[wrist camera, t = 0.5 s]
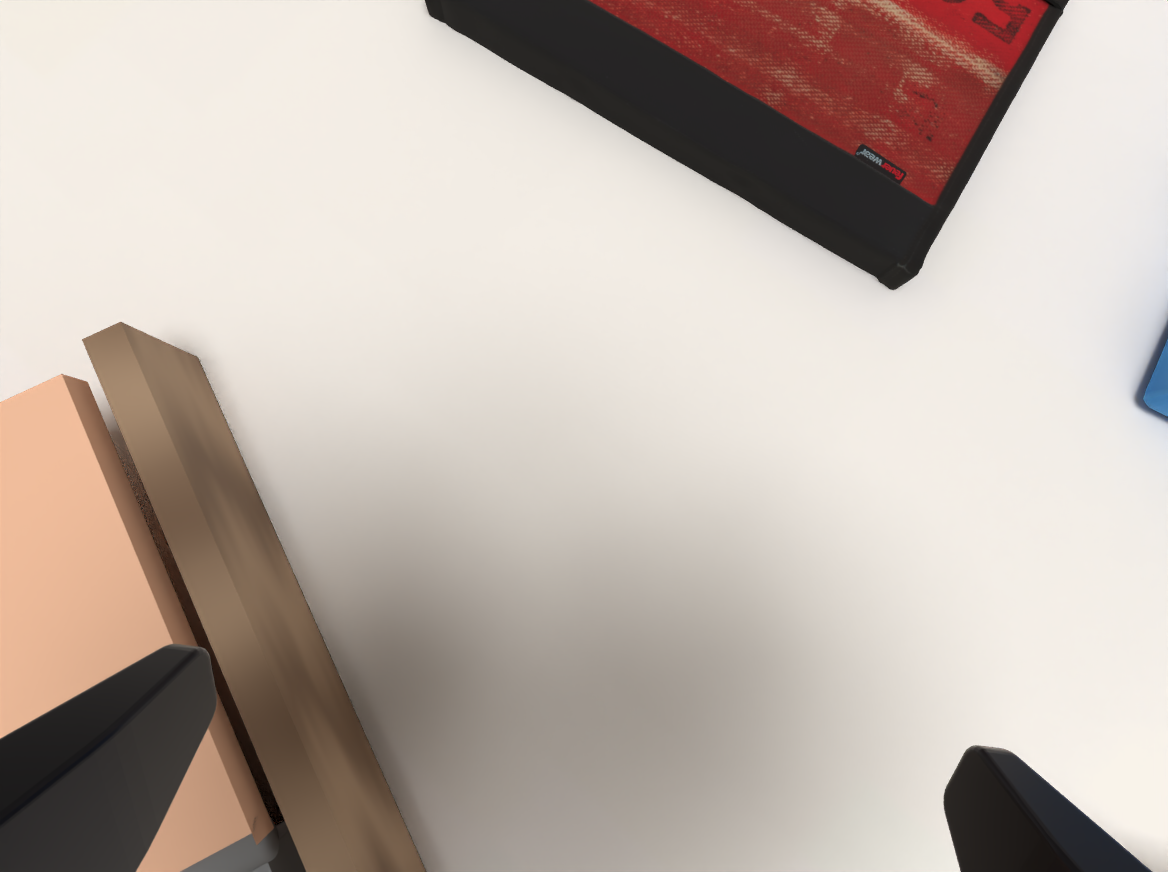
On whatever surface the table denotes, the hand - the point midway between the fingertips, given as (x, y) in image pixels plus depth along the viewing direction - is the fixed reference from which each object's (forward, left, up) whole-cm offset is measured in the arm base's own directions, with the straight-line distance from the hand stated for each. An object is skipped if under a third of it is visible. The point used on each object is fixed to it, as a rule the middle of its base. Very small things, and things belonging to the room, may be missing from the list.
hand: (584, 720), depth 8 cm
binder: (+21, -12, -15) cm, 29 cm away
